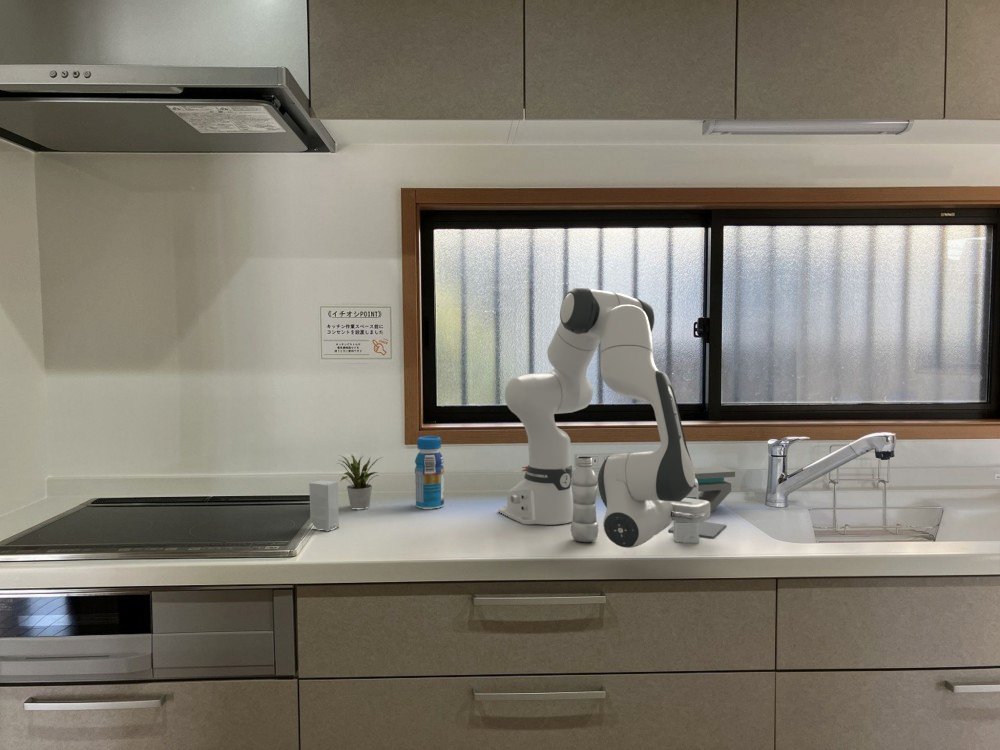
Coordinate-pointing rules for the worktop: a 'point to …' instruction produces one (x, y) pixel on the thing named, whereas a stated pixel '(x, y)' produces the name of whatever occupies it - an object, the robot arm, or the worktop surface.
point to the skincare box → (324, 504)
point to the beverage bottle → (429, 473)
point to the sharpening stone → (713, 484)
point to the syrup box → (687, 524)
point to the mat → (707, 529)
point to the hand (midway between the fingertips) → (672, 498)
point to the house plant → (358, 483)
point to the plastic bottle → (584, 501)
